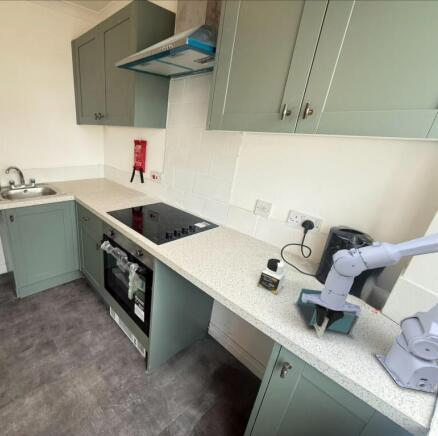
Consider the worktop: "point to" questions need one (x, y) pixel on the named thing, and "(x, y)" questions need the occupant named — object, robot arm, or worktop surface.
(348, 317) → the teal shelf
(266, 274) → the medicine bottle
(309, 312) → the teal open box
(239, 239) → the worktop surface
